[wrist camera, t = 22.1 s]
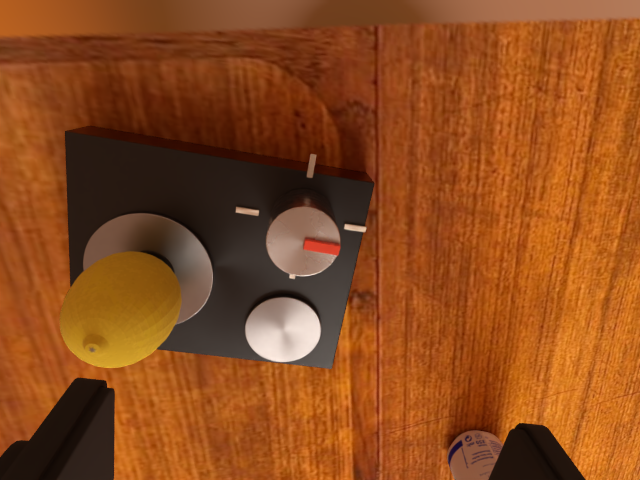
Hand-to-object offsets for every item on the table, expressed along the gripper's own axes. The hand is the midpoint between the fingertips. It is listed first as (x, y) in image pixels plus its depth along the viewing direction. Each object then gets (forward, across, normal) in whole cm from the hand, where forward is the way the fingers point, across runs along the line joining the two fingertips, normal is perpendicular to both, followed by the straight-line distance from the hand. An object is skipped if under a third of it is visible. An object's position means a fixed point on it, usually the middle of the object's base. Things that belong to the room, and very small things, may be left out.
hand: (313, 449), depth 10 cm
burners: (+17, +5, +6) cm, 19 cm away
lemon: (+17, +9, +5) cm, 20 cm away
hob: (+20, +5, +4) cm, 21 cm away
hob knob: (+17, 0, 0) cm, 17 cm away
